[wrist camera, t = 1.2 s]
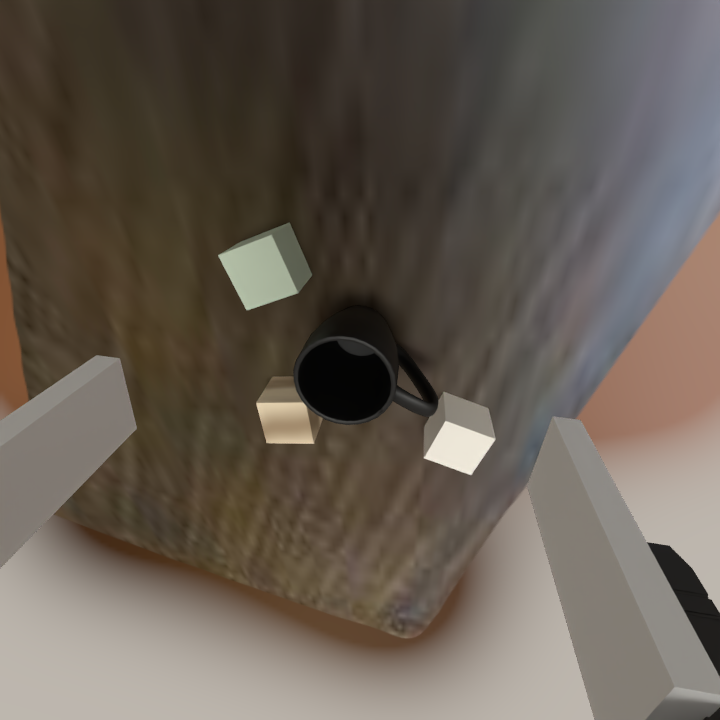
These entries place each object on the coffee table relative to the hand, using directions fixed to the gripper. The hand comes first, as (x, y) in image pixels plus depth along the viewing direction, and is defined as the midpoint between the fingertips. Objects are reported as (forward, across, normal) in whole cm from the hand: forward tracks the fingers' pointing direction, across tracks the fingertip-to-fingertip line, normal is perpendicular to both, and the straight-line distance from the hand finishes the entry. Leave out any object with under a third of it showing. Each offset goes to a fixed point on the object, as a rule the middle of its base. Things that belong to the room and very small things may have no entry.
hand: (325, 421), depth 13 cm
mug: (+27, 0, -10) cm, 29 cm away
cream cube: (+27, +9, -18) cm, 33 cm away
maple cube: (+27, -8, -18) cm, 33 cm away
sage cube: (+27, -10, -3) cm, 29 cm away
